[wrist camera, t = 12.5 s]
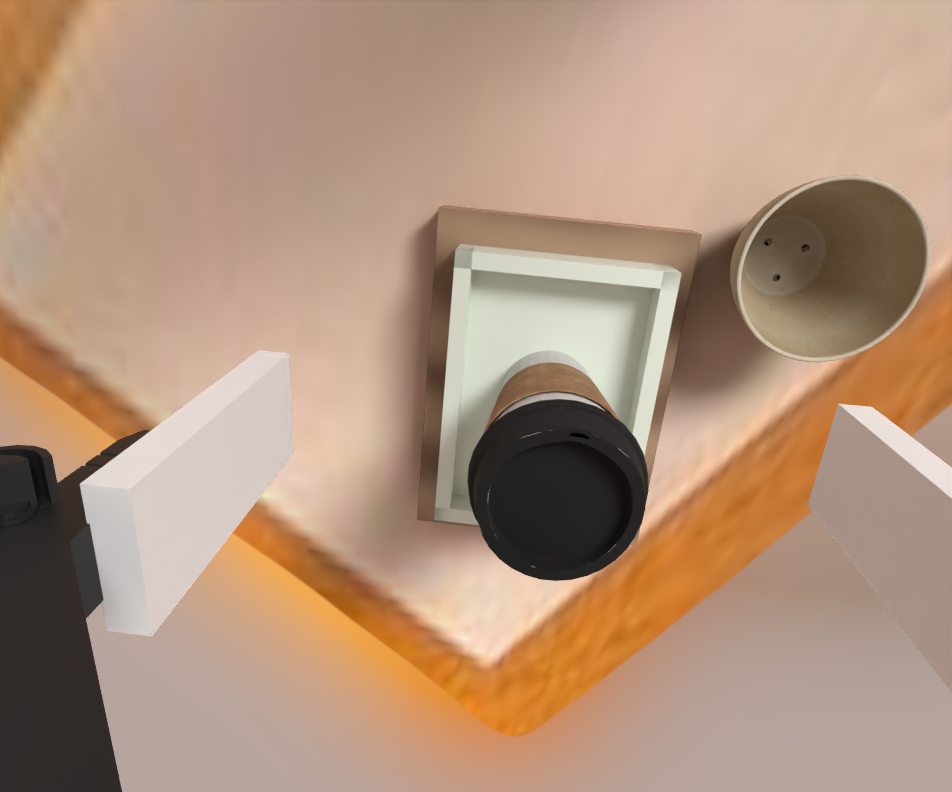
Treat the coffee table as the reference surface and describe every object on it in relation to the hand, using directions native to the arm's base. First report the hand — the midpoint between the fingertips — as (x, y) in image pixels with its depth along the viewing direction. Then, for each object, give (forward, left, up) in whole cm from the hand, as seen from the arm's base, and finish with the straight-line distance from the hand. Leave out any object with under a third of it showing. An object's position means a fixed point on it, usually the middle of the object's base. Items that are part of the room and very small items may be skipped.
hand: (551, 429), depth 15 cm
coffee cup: (+8, +2, -25) cm, 26 cm away
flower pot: (-2, +16, -29) cm, 33 cm away
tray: (+8, +2, -26) cm, 27 cm away
